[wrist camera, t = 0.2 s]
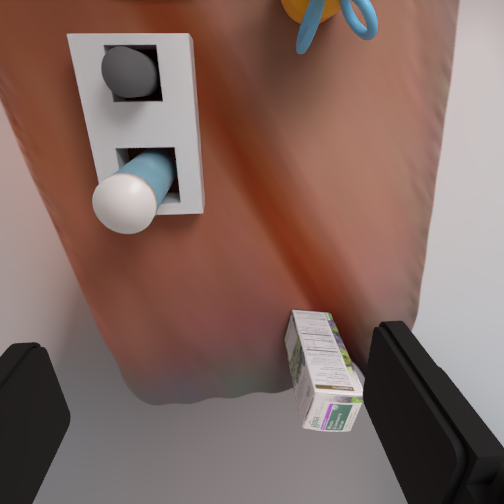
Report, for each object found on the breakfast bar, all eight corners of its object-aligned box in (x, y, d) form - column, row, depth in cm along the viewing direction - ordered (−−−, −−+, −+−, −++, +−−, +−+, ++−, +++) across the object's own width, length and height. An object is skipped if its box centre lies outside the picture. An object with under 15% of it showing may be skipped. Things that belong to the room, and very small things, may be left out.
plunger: (117, 52, 30) (96, 46, 25) (157, 52, 31) (144, 46, 26) (124, 96, 32) (106, 98, 27) (162, 96, 32) (151, 97, 27)
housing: (84, 39, 31) (66, 33, 27) (193, 39, 32) (188, 33, 28) (117, 204, 38) (106, 216, 35) (205, 201, 39) (202, 213, 35)
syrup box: (320, 343, 49) (354, 433, 36) (281, 340, 49) (301, 431, 36) (330, 311, 47) (370, 397, 34) (289, 308, 46) (314, 394, 33)
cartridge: (132, 147, 36) (85, 177, 24) (175, 146, 36) (150, 175, 24) (139, 188, 38) (99, 235, 26) (179, 187, 38) (158, 233, 26)
